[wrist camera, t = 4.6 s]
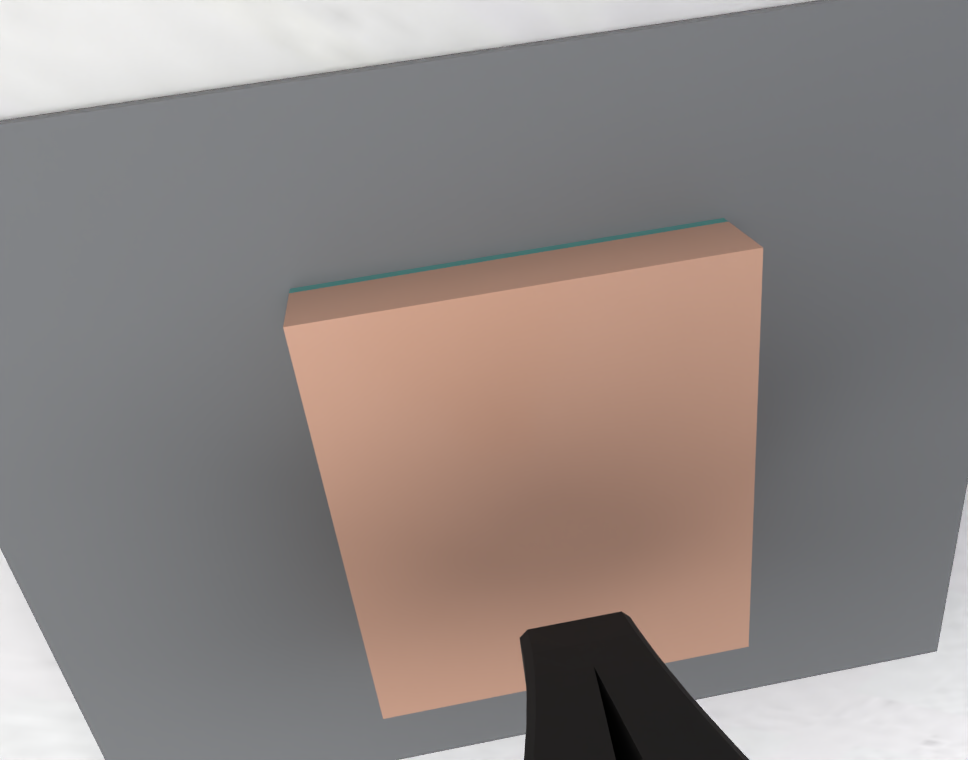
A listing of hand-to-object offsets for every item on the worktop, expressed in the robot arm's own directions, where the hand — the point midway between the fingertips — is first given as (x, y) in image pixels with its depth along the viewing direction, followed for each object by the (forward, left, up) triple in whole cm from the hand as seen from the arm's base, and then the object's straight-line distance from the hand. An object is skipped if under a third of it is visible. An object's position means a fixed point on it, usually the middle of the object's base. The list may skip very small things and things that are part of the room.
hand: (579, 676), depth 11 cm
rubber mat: (0, 0, -5) cm, 5 cm away
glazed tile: (+3, 0, -4) cm, 5 cm away
